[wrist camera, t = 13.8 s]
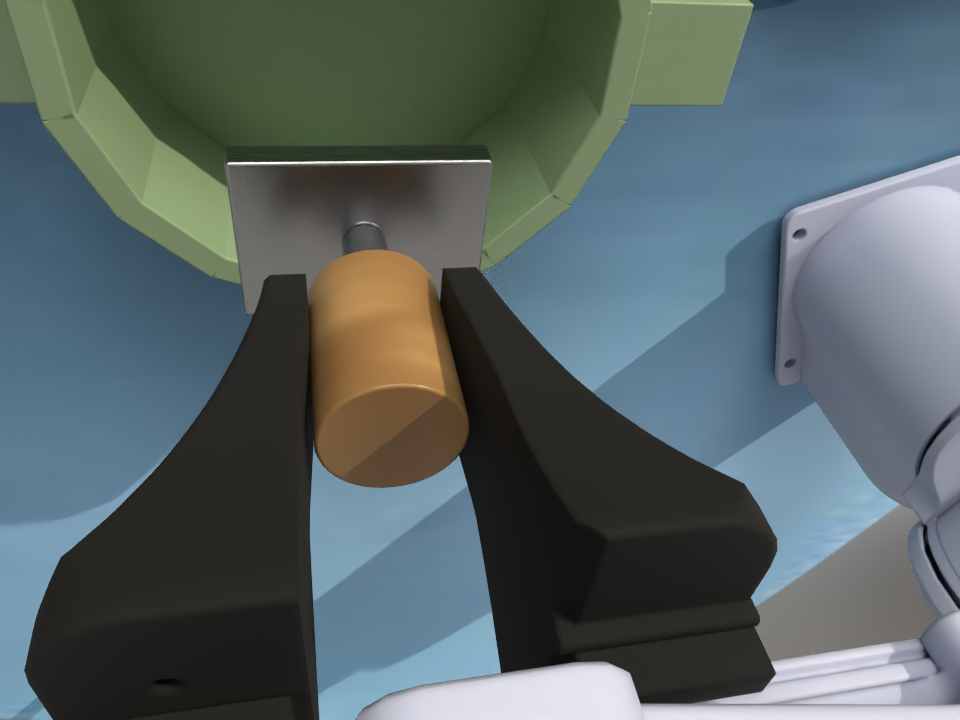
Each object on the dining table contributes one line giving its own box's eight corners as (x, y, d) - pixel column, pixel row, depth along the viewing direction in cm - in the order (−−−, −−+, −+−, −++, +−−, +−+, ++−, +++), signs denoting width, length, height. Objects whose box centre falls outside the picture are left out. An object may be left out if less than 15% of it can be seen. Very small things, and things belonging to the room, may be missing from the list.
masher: (487, 142, 15) (569, 345, 11) (471, 286, 18) (533, 496, 14) (224, 144, 14) (206, 366, 10) (246, 295, 17) (238, 525, 13)
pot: (616, 184, 26) (678, 286, 22) (28, 195, 22) (-24, 320, 18) (735, -307, 17) (870, -282, 13) (-186, -419, 14) (-366, -428, 10)
